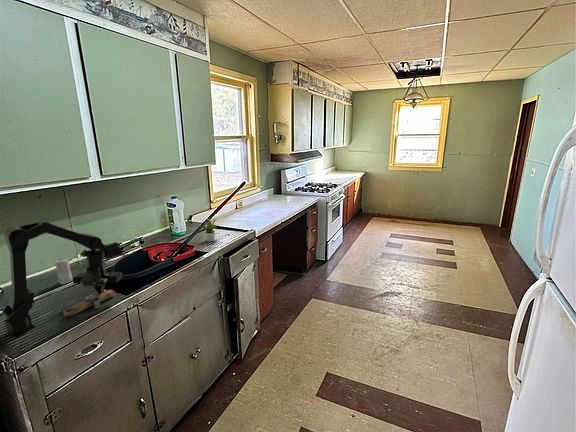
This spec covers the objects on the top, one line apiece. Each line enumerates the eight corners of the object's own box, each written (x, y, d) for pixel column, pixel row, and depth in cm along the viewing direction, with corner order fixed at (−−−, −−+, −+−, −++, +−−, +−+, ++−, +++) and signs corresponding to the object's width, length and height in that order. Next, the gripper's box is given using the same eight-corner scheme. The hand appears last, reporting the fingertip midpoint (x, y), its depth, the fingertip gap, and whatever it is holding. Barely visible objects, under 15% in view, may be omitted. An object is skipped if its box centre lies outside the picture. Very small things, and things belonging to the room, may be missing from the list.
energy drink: (70, 278, 155) (66, 257, 152) (74, 281, 151) (69, 259, 148) (58, 282, 151) (53, 260, 148) (61, 285, 148) (56, 263, 144)
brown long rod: (67, 318, 120) (65, 312, 119) (62, 315, 122) (60, 309, 121) (115, 295, 137) (114, 289, 136) (110, 293, 139) (109, 287, 138)
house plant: (212, 234, 221) (210, 213, 217) (225, 238, 213) (224, 216, 209) (196, 240, 210) (194, 218, 205) (210, 244, 202) (208, 221, 198)
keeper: (95, 309, 127) (93, 301, 126) (87, 304, 131) (85, 297, 130) (101, 306, 129) (99, 298, 128) (92, 302, 133) (91, 294, 132)
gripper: (61, 271, 123) (67, 304, 127) (107, 270, 124) (113, 303, 128) (77, 260, 134) (83, 291, 138) (120, 259, 135) (125, 290, 139)
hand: (100, 294), depth 136 cm, fingers closed
